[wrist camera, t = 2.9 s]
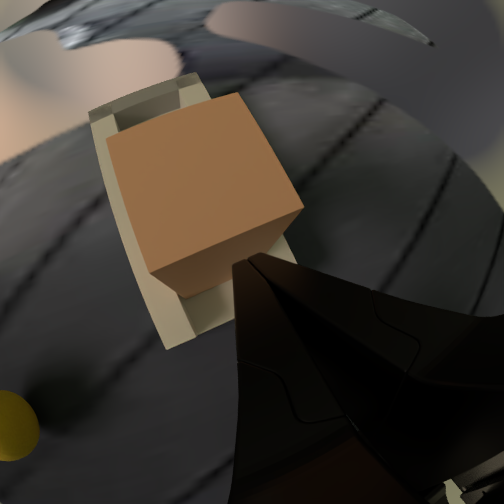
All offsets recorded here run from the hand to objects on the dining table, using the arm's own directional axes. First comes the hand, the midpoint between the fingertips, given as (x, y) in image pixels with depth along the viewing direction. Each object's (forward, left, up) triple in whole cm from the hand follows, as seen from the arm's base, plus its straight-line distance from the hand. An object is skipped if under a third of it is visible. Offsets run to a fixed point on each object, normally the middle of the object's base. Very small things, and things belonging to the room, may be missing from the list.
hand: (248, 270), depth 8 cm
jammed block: (+2, -3, -12) cm, 13 cm away
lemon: (+17, +12, -14) cm, 25 cm away
